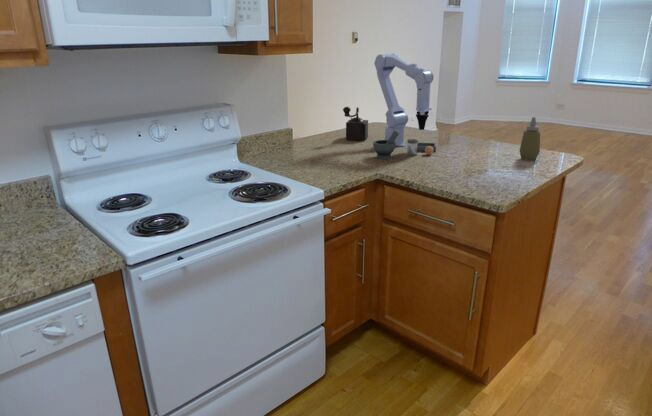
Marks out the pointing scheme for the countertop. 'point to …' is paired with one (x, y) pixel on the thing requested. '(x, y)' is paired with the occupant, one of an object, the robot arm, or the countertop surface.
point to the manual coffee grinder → (355, 126)
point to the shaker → (412, 147)
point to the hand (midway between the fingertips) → (421, 128)
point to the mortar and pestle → (385, 146)
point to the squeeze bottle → (530, 142)
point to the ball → (429, 150)
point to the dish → (423, 145)
